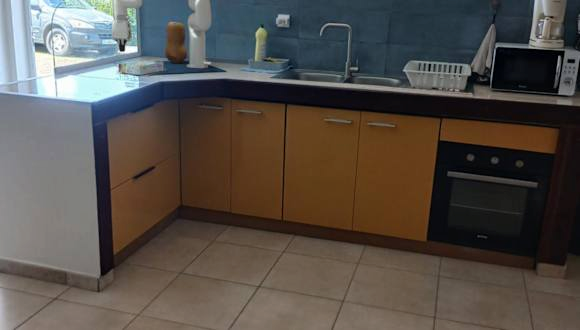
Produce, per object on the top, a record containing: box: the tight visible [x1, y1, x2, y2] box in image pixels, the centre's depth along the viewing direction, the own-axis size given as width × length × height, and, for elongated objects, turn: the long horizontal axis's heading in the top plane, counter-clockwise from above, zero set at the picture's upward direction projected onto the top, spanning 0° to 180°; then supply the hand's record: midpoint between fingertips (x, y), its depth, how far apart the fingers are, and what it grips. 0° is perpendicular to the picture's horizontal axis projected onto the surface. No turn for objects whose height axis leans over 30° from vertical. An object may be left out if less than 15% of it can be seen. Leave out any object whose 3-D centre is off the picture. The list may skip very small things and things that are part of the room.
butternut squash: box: [164, 21, 188, 64], centre depth 371 cm, size 14×13×25 cm
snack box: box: [118, 59, 165, 76], centre depth 334 cm, size 21×6×15 cm
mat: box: [125, 69, 167, 77], centre depth 336 cm, size 14×24×1 cm, turn 166°
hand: (122, 51), depth 336 cm, fingers closed
